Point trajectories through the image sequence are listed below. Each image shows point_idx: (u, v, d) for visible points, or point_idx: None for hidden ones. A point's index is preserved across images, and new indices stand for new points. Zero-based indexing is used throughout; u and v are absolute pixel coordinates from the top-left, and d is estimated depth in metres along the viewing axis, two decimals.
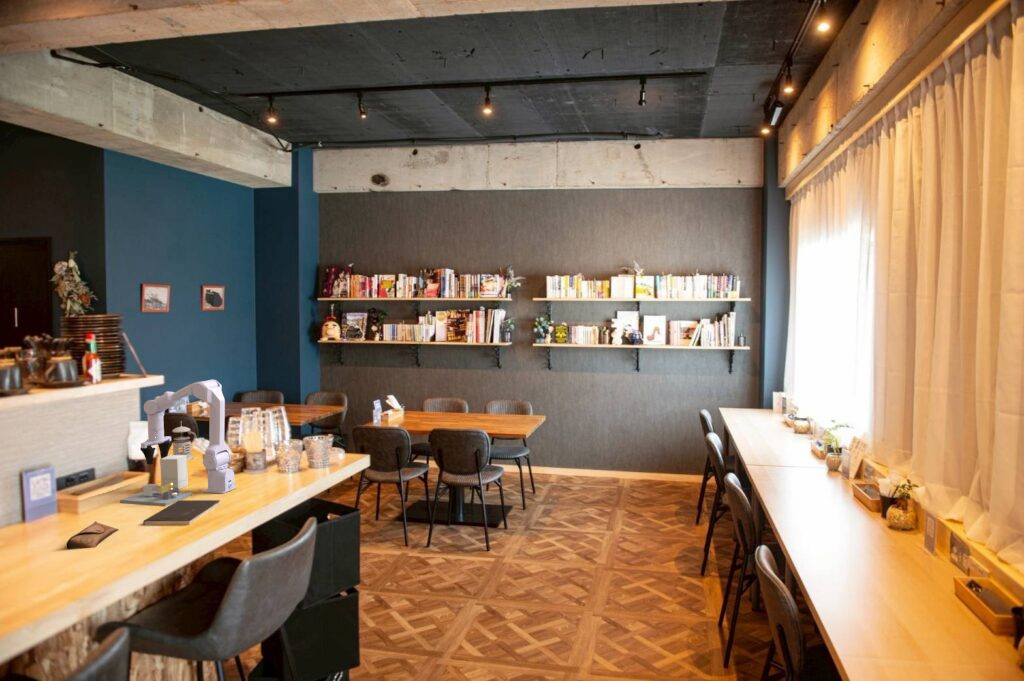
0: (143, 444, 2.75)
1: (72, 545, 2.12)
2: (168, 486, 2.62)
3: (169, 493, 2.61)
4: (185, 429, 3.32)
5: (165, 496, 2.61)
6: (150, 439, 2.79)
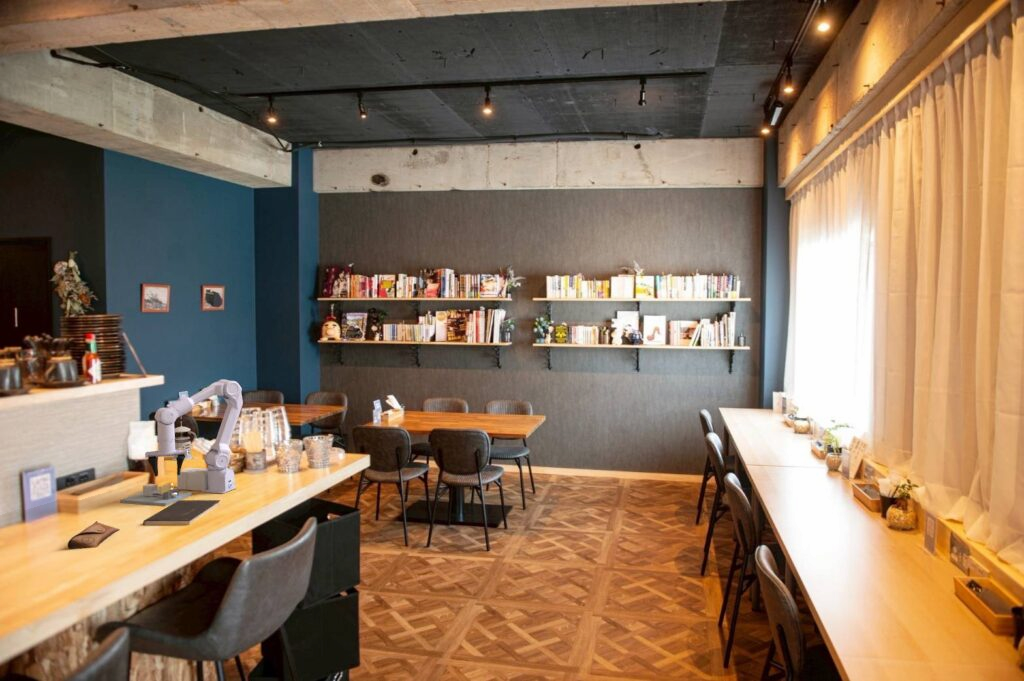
0: None
1: (73, 545, 2.12)
2: (168, 486, 2.62)
3: (169, 493, 2.61)
4: (185, 429, 3.32)
5: (165, 496, 2.61)
6: None
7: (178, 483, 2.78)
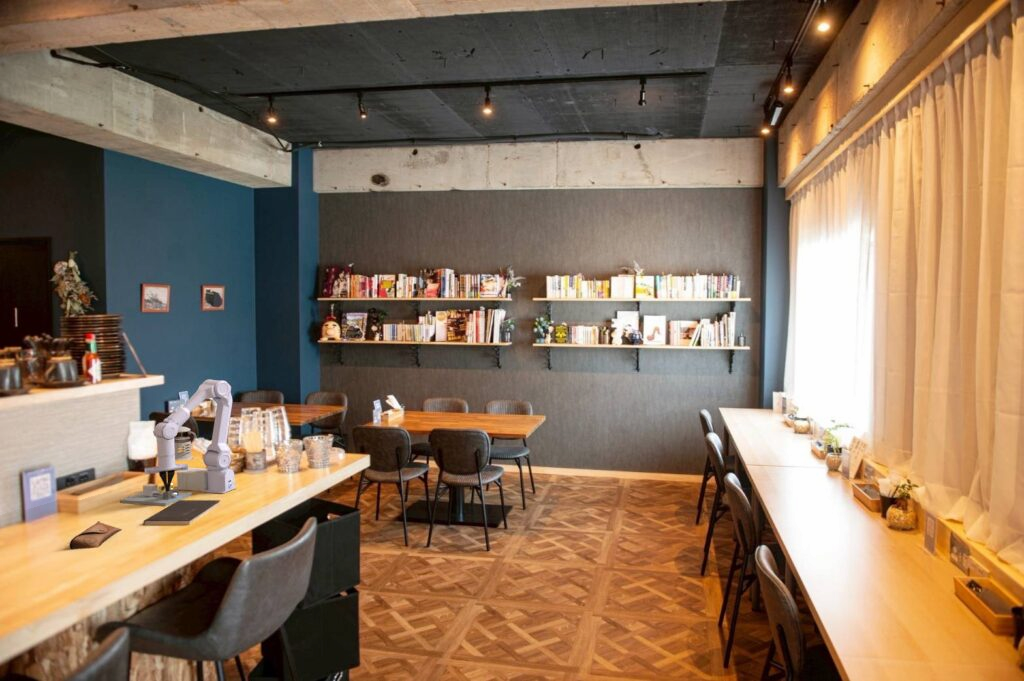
0: None
1: (75, 545, 2.12)
2: None
3: (169, 493, 2.61)
4: (185, 429, 3.32)
5: (165, 496, 2.61)
6: (158, 465, 2.57)
7: (178, 483, 2.78)
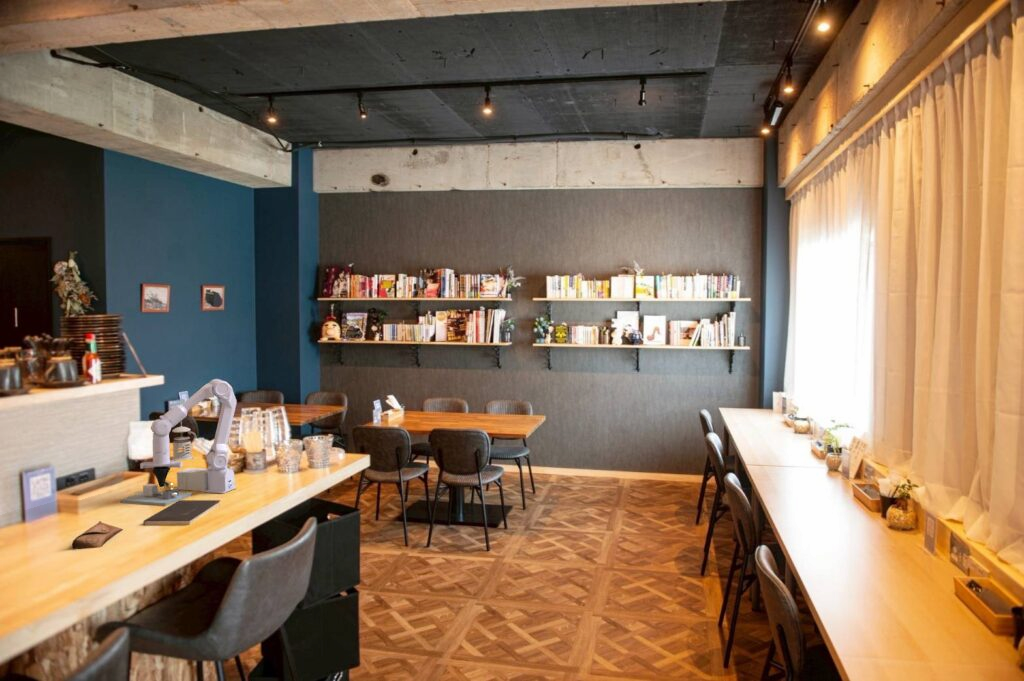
0: None
1: (77, 545, 2.12)
2: (167, 484, 2.64)
3: (169, 493, 2.61)
4: (185, 429, 3.32)
5: (165, 496, 2.61)
6: None
7: (178, 483, 2.78)
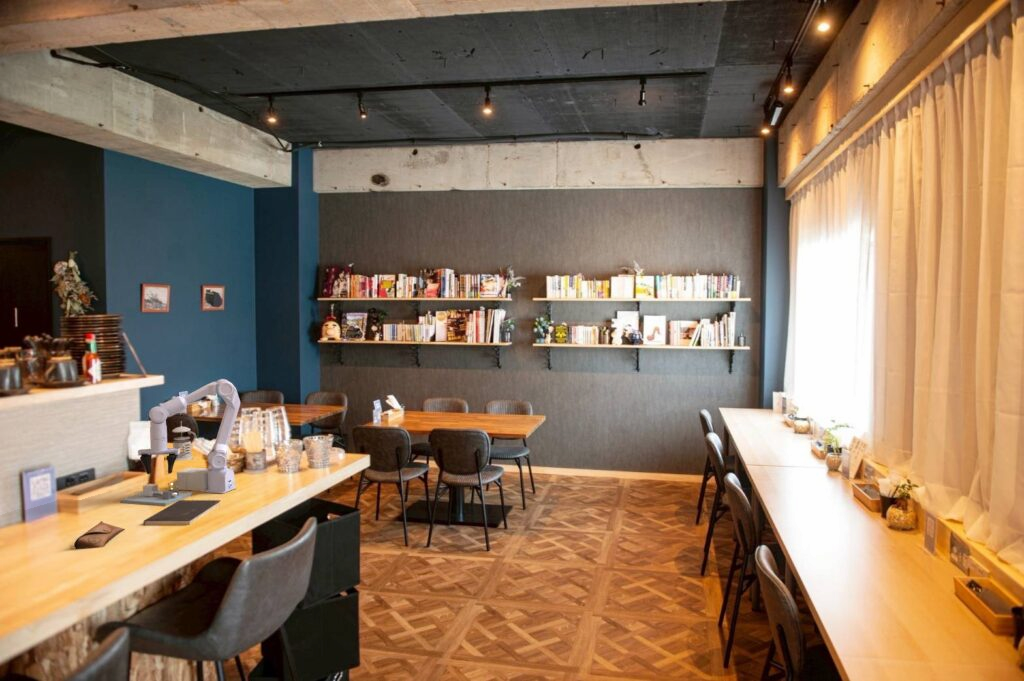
0: None
1: (80, 545, 2.12)
2: None
3: (169, 493, 2.61)
4: (185, 429, 3.32)
5: (165, 496, 2.61)
6: None
7: (178, 483, 2.78)
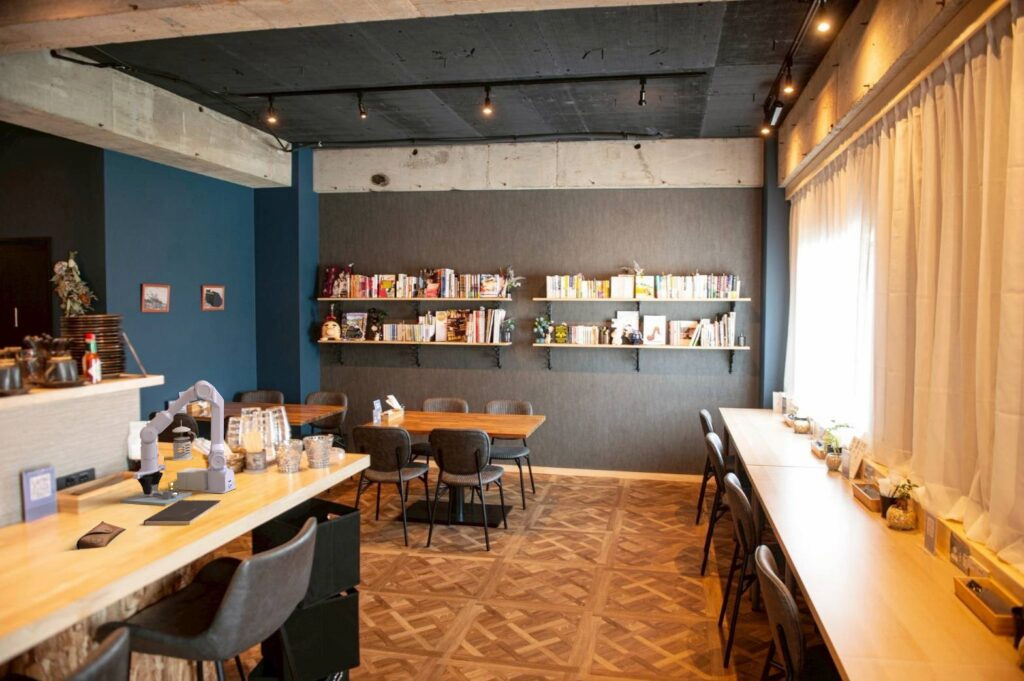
0: (136, 475, 2.58)
1: (82, 545, 2.12)
2: None
3: (169, 493, 2.61)
4: (185, 429, 3.32)
5: (165, 496, 2.61)
6: (143, 469, 2.63)
7: (178, 483, 2.78)
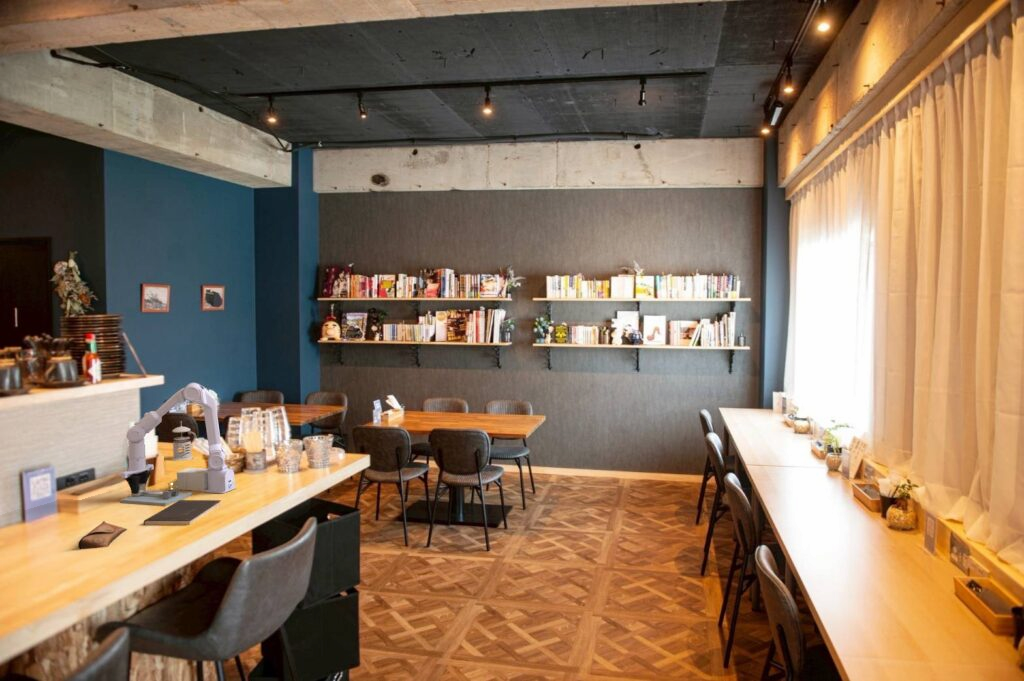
0: (123, 474, 2.59)
1: (84, 544, 2.12)
2: None
3: (169, 493, 2.61)
4: (185, 429, 3.32)
5: (165, 496, 2.61)
6: (131, 468, 2.64)
7: (178, 483, 2.78)
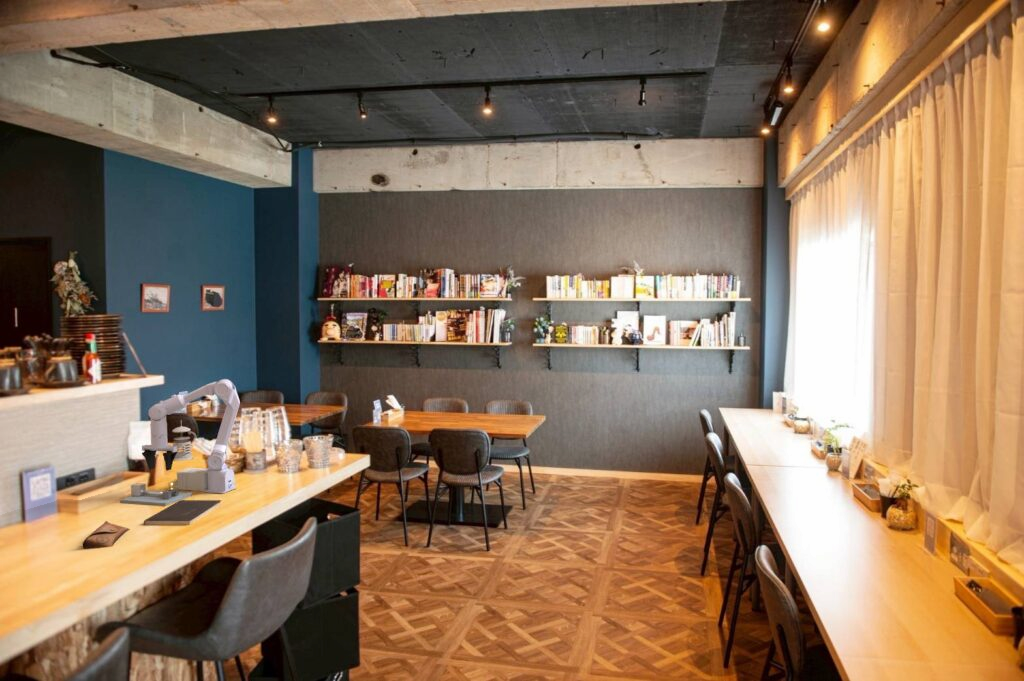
0: None
1: (88, 544, 2.12)
2: None
3: (169, 493, 2.61)
4: (185, 429, 3.32)
5: (165, 496, 2.61)
6: None
7: (178, 483, 2.78)
